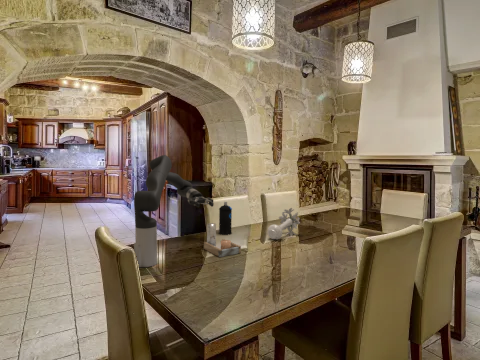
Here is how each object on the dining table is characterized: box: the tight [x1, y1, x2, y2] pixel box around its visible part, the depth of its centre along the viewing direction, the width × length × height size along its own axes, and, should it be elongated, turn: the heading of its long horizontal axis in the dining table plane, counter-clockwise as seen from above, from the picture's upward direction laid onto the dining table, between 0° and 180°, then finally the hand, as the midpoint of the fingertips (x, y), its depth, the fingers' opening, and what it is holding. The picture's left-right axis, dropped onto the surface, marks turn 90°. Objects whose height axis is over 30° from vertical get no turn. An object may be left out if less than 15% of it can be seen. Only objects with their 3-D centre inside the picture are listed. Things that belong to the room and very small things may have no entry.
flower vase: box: [267, 207, 301, 241], centre depth 195 cm, size 13×18×25 cm
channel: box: [203, 238, 242, 258], centre depth 165 cm, size 12×16×4 cm
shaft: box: [206, 222, 217, 247], centre depth 174 cm, size 5×5×12 cm
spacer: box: [220, 239, 231, 250], centre depth 162 cm, size 5×5×6 cm
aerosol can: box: [218, 201, 233, 236], centre depth 201 cm, size 8×8×20 cm
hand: (205, 205), depth 180 cm, fingers open, 8 cm apart
